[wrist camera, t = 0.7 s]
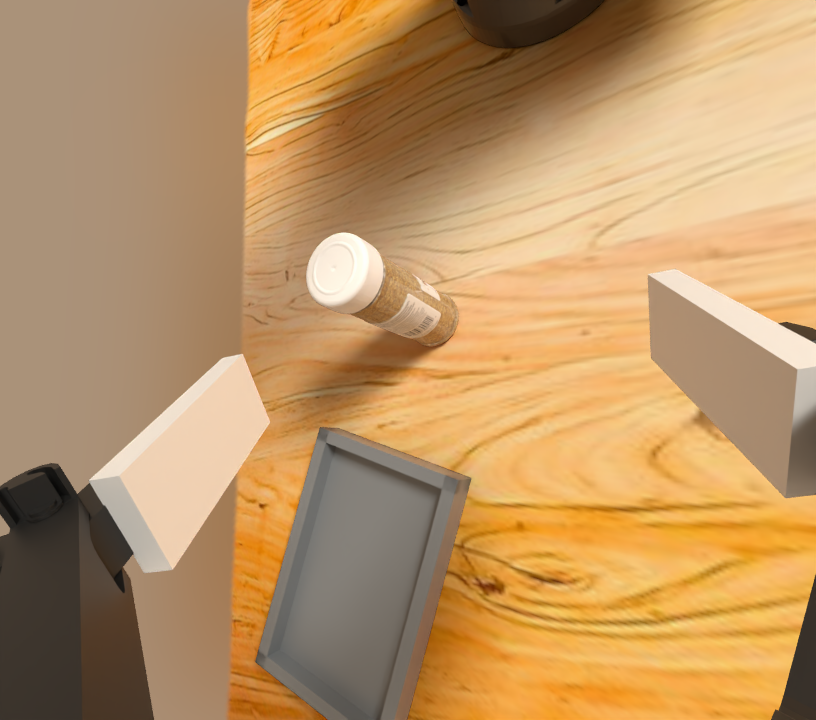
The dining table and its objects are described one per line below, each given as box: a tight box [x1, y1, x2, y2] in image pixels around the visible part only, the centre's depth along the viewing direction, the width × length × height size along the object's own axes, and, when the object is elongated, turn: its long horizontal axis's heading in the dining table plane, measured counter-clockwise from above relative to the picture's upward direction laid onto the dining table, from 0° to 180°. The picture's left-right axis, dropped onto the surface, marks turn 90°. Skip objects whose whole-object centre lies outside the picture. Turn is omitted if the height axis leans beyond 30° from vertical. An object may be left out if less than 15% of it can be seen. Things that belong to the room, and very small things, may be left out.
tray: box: [255, 427, 471, 720], centre depth 37 cm, size 20×13×2 cm, turn 163°
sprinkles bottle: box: [306, 233, 459, 346], centre depth 33 cm, size 5×5×13 cm
